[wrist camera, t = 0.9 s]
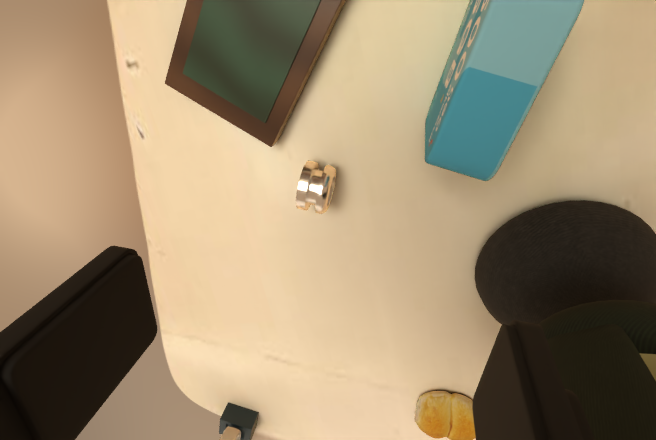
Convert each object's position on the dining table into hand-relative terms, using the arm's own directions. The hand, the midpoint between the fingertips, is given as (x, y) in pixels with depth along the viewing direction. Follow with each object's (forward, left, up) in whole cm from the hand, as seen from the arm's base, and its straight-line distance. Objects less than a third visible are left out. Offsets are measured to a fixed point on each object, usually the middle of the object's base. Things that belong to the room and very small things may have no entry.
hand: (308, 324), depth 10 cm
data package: (-5, +5, -30) cm, 31 cm away
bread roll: (+33, +31, -30) cm, 54 cm away
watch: (+59, +8, -30) cm, 67 cm away
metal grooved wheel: (+12, -1, -30) cm, 32 cm away
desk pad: (+1, -13, -30) cm, 33 cm away
